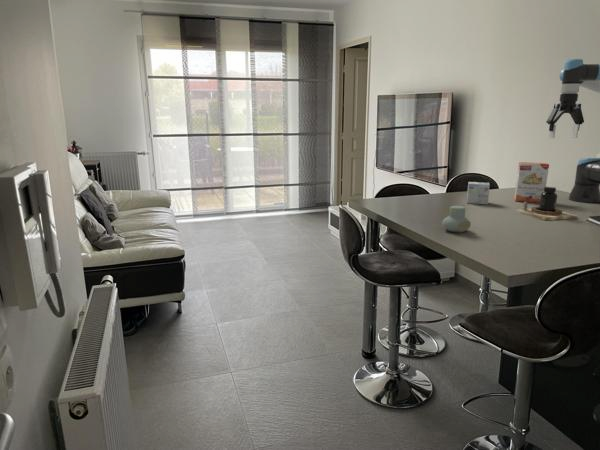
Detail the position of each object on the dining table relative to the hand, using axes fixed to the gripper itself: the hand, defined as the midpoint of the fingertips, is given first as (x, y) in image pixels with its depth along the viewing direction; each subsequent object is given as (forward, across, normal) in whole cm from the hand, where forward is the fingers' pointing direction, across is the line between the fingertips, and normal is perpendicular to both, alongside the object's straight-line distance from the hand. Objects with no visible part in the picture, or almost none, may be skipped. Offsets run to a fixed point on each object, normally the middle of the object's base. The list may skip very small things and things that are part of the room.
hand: (563, 138), depth 226 cm
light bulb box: (+35, +32, -18) cm, 51 cm away
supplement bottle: (+34, +18, +15) cm, 41 cm away
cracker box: (+35, +2, -15) cm, 38 cm away
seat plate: (+35, +18, +15) cm, 42 cm away
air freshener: (+35, +76, +30) cm, 89 cm away
